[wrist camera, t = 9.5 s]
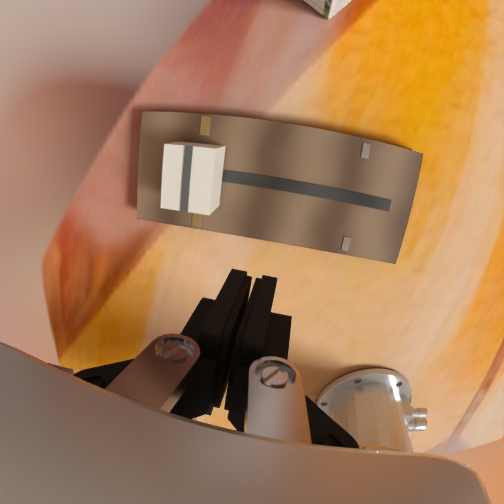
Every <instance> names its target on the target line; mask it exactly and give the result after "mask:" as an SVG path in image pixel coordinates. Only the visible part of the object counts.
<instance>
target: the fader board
mask: <svg viewBox="0 0 504 504" xmlns="http://www.w3.org/2000/svg"><path fill="white" fill-rule="evenodd" d="M173 142H189V143H200V144H210V145H220V146H226V147H225V156H224V165H223V174H222V184H221V193H220V203H219V206H218V207H217V208H216V209H215V210H214V211H213V212H212V213H211V214H210V215H203V214H197V213H191V212H181V211H177V210H171V209H164V208H160V207H161V185H162V168H163V154H164V144H167V143H173ZM422 158H423V154H422V153H419V152H416V151H412V150H409V149H405V148H401V147H398V146H394V145H390V144H387V143H383V142H379V141H375V140H371V139H366V138H362V137H358V136H353V135H349V134H344V133H339V132H334V131H329V130H324V129H319V128H313V127H308V126H302V125H296V124H290V123H283V122H276V121H269V120H261V119H253V118H245V117H235V116H225V115H214V114H200V113H183V112H155V111H142V119H141V130H140V144H139V160H138V183H137V219H141V220H147V221H153V222H160V223H166V224H172V225H178V226H184V227H190V228H196V229H202V230H208V231H214V232H220V233H225V234H231V235H237V236H243V237H249V238H255V239H260V240H266V241H272V242H277V243H283V244H289V245H294V246H300V247H306V248H311V249H317V250H322V251H328V252H333V253H339V254H344V255H350V256H355V257H361V258H366V259H371V260H377V261H382V262H387V263H393V264H396V261H397V258H398V255H399V251H400V248H401V245H402V241H403V238H404V234H405V231H406V227H407V223H408V219H409V216H410V212H411V208H412V204H413V200H414V196H415V191H416V187H417V182H418V178H419V173H420V168H421V163H422Z"/></svg>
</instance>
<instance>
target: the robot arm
mask: <svg viewBox="0 0 504 504" xmlns="http://www.w3.org/2000/svg"><path fill="white" fill-rule="evenodd" d="M251 280H252V277H250V276H247V272H246V271H241V270H236V269H232V270H231V272H230V273H229V275H228V277H227V279H226V281H225V283H224V285H223V287H222V289H221V290H220V292H219V294H218V296H217V298H216V300H212V299H208V298H202V299H201V301H200V302H199V304H198V306H197V307H196V309H195V311H194V312H193V314H192V316H191V317H190V319H189V321H188V322H187V324H186V326H185V327H184V329H183V331H182V332H181V334H166V335H162V336H160V337H157V338H156V339H155V340H153V341H152V342H151V343H150V344H149V345H148V346H147V347H146V348H145V349H144V350H143V351H142V352H141V353H140V354H139V355H138V356H137V357H136V358H135V359H131V360H126V361H122V362H117V363H113V364H108V365H104V366H99V367H94V368H89V369H85V370H82V371H79V372H77V373H74V371H73V369H70V368H65V367H61V366H57V365H53V364H50V363H45V362H44V361H42V360H40V359H38V358H36V357H34V356H31V355H29V354H27V353H25V352H23V351H21V350H19V349H17V348H14V347H12V346H9V345H7V344H4V343H1V342H0V504H491V501H490V498H489V495H488V492H487V490H486V488H485V485H484V483H483V481H482V480H481V478H480V477H479V475H478V474H477V473H476V472H475V471H474V470H473V469H472V468H470V467H468V466H467V465H465V464H463V463H460V462H458V461H455V460H451V459H448V458H445V457H442V456H436V455H431V454H426V453H416V452H413V448H412V444H411V439H410V434H409V431H424V430H425V428H426V426H427V420H426V418H425V417H426V416H427V409H426V408H417V409H415V408H413V407H411V406H410V402H411V398H412V391H411V388H410V384H409V382H408V381H407V379H406V378H405V377H404V376H402V375H401V374H399V373H397V372H395V371H392V370H388V369H379V368H375V369H365V370H359V371H355V372H352V373H349V374H346V375H344V376H342V377H340V378H338V379H336V380H335V381H333V382H332V383H330V384H329V385H328V386H327V387H326V388H325V389H324V390H323V391H322V392H321V394H320V396H319V398H318V400H317V405H316V404H315V403H314V402H313V401H312V400H310V399H309V398H308V397H307V396H306V395H305V394H304V388H303V381H302V375H301V373H300V370H299V369H298V368H297V367H296V365H294V364H293V363H292V362H290V361H288V360H287V358H288V349H289V339H290V329H291V319H292V317H291V316H287V315H282V314H277V313H272V312H271V308H272V303H273V298H274V293H275V288H276V283H277V278H275V277H270V276H265V275H263V276H262V279H260V278H256V280H255V283H254V286H253V289H252V292H251V295H250V298H249V292H250V286H251ZM248 298H249V301H248ZM227 384H228V388H227V395H226V401H225V408H224V409H225V410H229V413H228V420H229V421H230V422H231V423H232V425H233V426H234V427H235V428H236V429H237V430H236V431H235V430H231V429H227V428H222V427H218V426H214V425H210V424H207V423H203V422H199V421H196V418H197V417H199V416H202V415H204V414H207V415H211V413H212V410H213V407H217V408H220V405H221V402H222V399H223V396H224V393H225V390H226V387H227ZM411 418H413V419H411Z"/></svg>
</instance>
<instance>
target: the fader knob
mask: <svg viewBox="0 0 504 504" xmlns="http://www.w3.org/2000/svg"><path fill="white" fill-rule="evenodd" d="M225 147H226V146H220V145H210V144H200V143H189V142H173V143H167V144H164V154H163V168H162V185H161V207H160V208H164V209H171V210H177V211H181V212H191V213H197V214H203V215H210V214H211V213H212V212H213V211H214V210H215V209H216V208H217V207H218V206H219V203H220V193H221V184H222V174H223V165H224V156H225Z"/></svg>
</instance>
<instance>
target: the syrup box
mask: <svg viewBox="0 0 504 504" xmlns="http://www.w3.org/2000/svg"><path fill="white" fill-rule="evenodd" d="M303 1H304V2H305V3H307V4H308V5H309V6H311V7H312V8H313V9H315V10H316V11H317V12H319V13H320V14H321V15H322V16H323V17H325V18H326V19H330V18H331V17H332V16H333V15H335V14H336V13H337V12H338V11H339V10H341V9H342V8H343V7H344V6H346V5H347V4H348V3H349V2H351V1H352V0H303Z"/></svg>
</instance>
